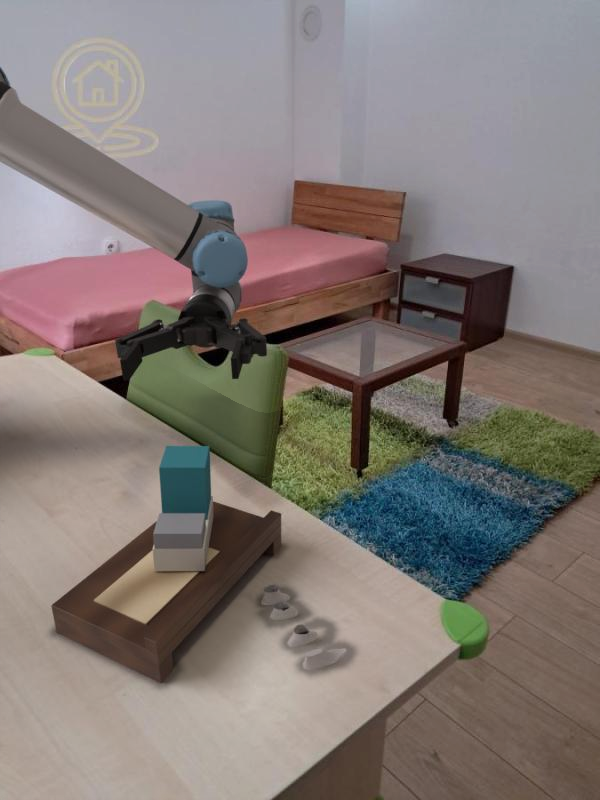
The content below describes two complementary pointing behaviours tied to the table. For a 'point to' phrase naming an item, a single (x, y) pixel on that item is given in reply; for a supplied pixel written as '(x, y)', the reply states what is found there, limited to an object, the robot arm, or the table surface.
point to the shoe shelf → (161, 593)
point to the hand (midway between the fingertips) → (179, 369)
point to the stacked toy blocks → (184, 510)
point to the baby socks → (298, 630)
